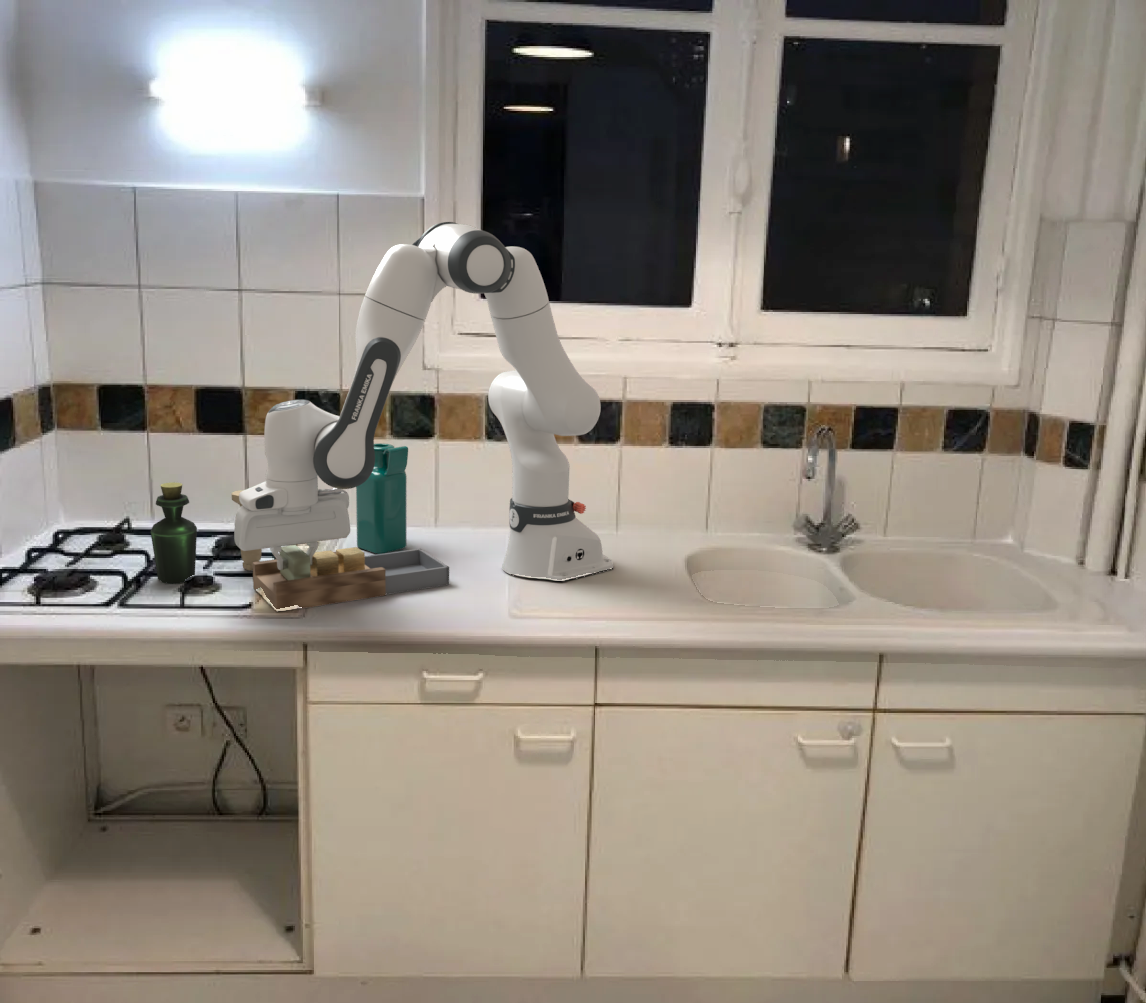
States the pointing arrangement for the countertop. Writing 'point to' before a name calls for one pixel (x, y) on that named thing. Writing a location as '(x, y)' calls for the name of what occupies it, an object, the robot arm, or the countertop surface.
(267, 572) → the slot board
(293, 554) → the bar
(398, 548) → the pitcher
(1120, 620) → the countertop surface
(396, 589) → the tray
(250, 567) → the handle
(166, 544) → the potion bottle
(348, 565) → the brass block
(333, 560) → the brass block
